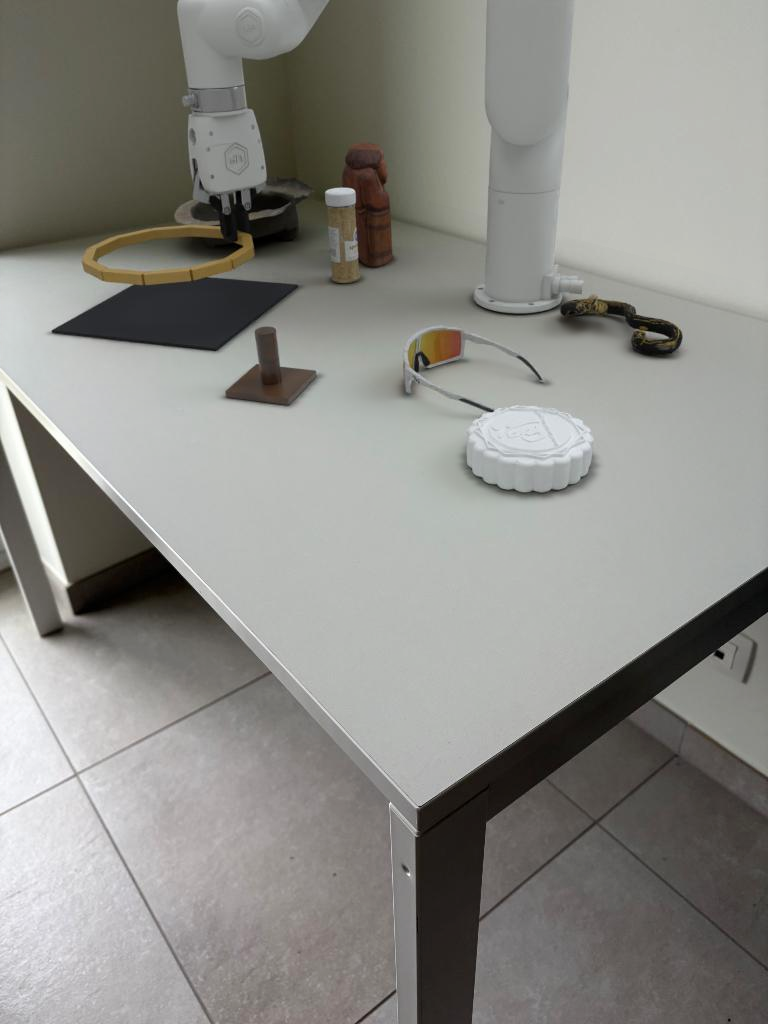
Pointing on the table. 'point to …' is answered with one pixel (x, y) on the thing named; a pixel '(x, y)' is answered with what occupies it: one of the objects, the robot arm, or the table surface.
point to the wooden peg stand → (270, 375)
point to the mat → (179, 312)
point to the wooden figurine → (369, 202)
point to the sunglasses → (446, 356)
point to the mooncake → (529, 448)
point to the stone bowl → (255, 211)
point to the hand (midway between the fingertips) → (236, 237)
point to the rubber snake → (630, 323)
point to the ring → (169, 274)
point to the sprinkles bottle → (342, 234)
